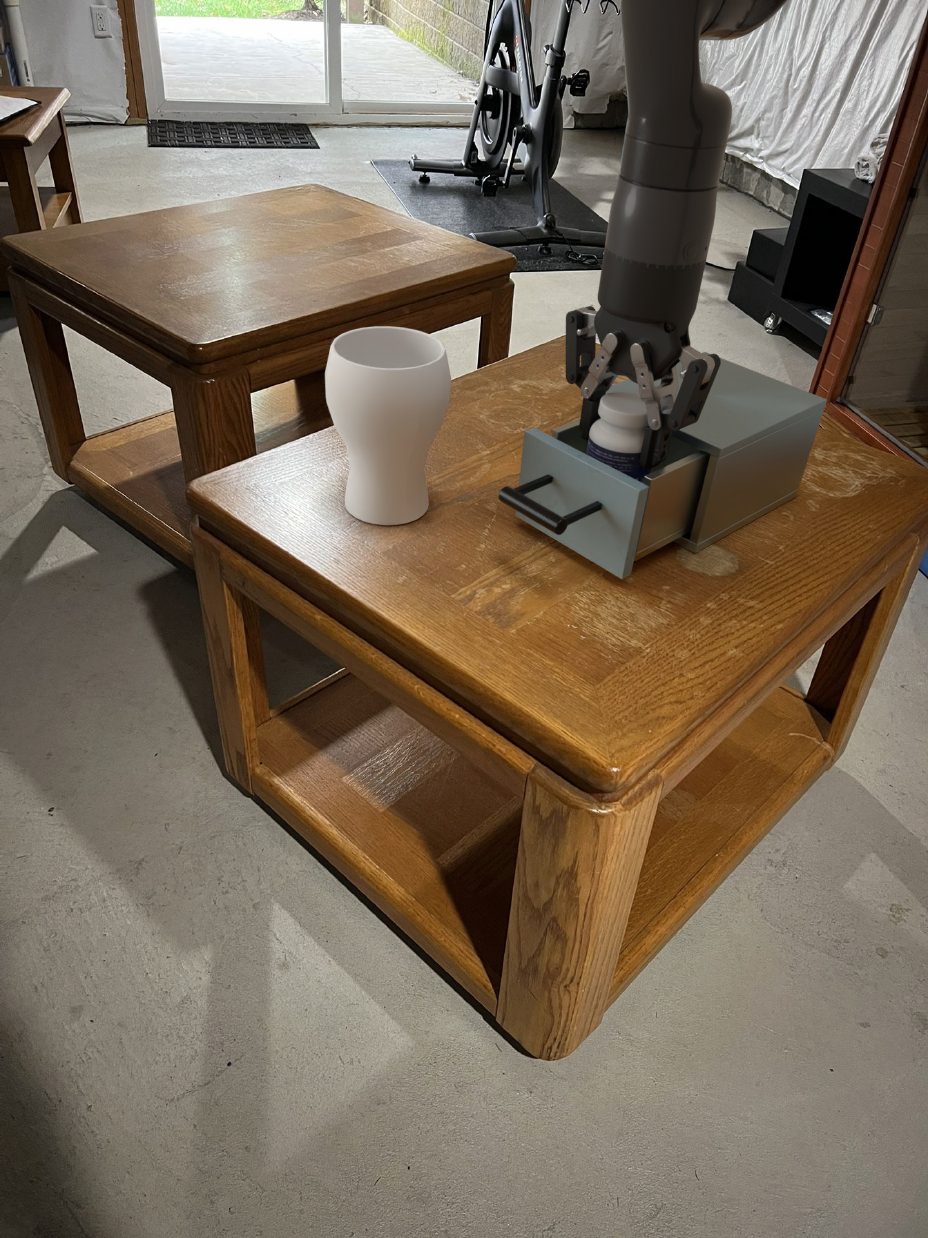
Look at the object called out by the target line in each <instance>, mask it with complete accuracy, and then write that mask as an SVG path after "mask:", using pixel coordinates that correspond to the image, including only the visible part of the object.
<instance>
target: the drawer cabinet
mask: <svg viewBox="0 0 928 1238" xmlns="http://www.w3.org/2000/svg"><path fill="white" fill-rule="evenodd" d="M701 353H702V354H704V355H705V356H707V355H710V354H711V353H709V352H707V351H704V352H701ZM720 360H721V364H720V367H719V370H718V372H717V375H716V377H715V380H714V382H713V385H712V387H711V389H710V392H709V394H708V397H707V399H706V402H705V404H704V407H703V409H702V412H701V414H700V417H699V419H698V421H697V422H696V423H694V424H691V425H689V426H687V427H684V428H682V429H680V430H677V431H672V437H675V438H677V439H679V440H681V441H683V442H685V443H687V444H690V445H692V446H694V447H696V448H698V449H700V450H702V451H705V452H707V453H709V454H711V455H710V459H709V463H708V467H707V471H706V475H705V479H704V484H703V488H702V492H701V496H700V500H699V504H698V508H697V512H696V516H695V520H694V524H693V528H692V531H690V532H689V533H687V534H685V535H683V536H681V537H679V538H677V539H675V540H674V541H673V543H675V544H677V545H678V546H679V545H680V547H683V548H685V549H686V550H688V551H690V552H692V553H693V554H696V553H698V552H700V551H702V550H703V549H705V548H707V547H709V546H710V545H713V544H714V543H715V542H718V541H720V540H721V539H723V538H725V537H727V536H729V535H730V534H732V533H734V532H736V531H737V530H739V529H741V528H743V527H744V526H746V525H749V524H750V523H752V522H753V521H754V522H755V520H757V519H759V518H761V517H762V516H765V515H766V514H769V512H772V511H773V510H775V509H777V508H778V507H780V506H783V505H784V504H786V503H787V502H789V501H791V500H793V499H795V498H796V497H798V493H799V489H800V486H801V483H802V480H803V477H804V473H805V471H806V467H807V464H808V461H809V459H810V455H811V452H812V449H813V445H814V443H815V439H816V437H817V432H818V430H819V426H820V424H821V420H822V417H823V414H824V411H825V408H826V404H827V401H828V399H827V398H825V397H821V396H819V395H817V394H814V393H811V392H809V391H806V390H803V389H801V388H798V387H797V386H794V385H792V384H789V383H785V382H784V381H781V380H779V379H776V378H773V377H771V376H768V375H765V374H763V373H761V372H758V371H755V370H753V369H750V368H747V367H746V366H743V365H740V364H738V363H735V362H732V361H730V360H727V359H724V358H722V357H720ZM676 371H677V378H678V385H679V389H680V387H681V384H682V381H683V379H682V378H681V377H680V373H681V372H682V363H681V361H680V362H679V363H678V364H677V365H676ZM660 383H661V379H659V380H657V381H654V385H655V387H656V386H659V385H660ZM679 389H678V391H677V393H676V397H677V395H678V392H679ZM613 392H629V393H635V394H639V389H638V384H637V383H635V382H633V381H631V380H630V379H629V378H627V379H625V380H622V381H620V382H617V383H613V384H612V385H611V387H610V389H609V390H608V391H606V394H608V393H613ZM661 406H662V405H661Z"/></svg>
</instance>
